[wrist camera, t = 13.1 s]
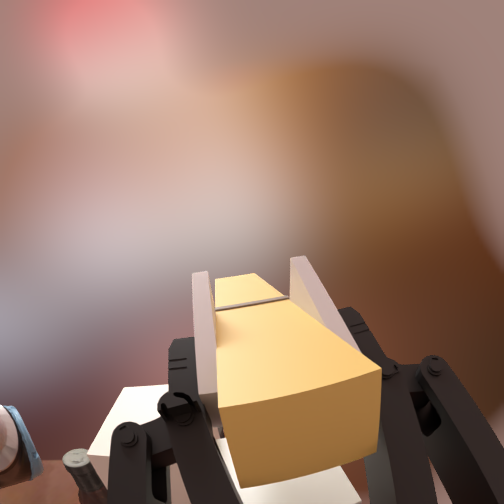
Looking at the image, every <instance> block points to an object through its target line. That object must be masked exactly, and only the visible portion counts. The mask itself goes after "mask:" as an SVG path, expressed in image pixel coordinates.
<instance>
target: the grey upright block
mask: <svg viewBox="0 0 504 504" xmlns="http://www.w3.org/2000/svg"><path fill="white" fill-rule="evenodd" d="M216 442H217V445H218V447H219V449H220V452H221V454H222V457H223V459H224V462H225V464H226V466H227V469H228V471H229V473H230V475H231V478H232V480H233V482H234V484H235V487H236V489H237V491H238V493H239V495H240V497H241V500H242V502H243V504H361V499H360V497H359V496H358V494H357V492H356V491H355V489H354V488H353V486H352V484H351V483H350V481H349V480H348V478H347V476H346V475H345V473H344V471H343V470H342V468H341V467H340V466H337V467H334V468H331V469H328V470H324V471H321V472H318V473H314V474H310V475H307V476H303V477H299V478H295V479H291V480H286V481H282V482H277V483H272V484H267V485H262V486H256V487H250V488H243V489H240V486H239V482H238V479H237V476H236V472H235V469H234V465H233V462H232V458H231V455H230V451H229V447H228V444H227V440H226V438H222V439H216Z"/></svg>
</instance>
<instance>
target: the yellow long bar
mask: <svg viewBox="0 0 504 504" xmlns="http://www.w3.org/2000/svg"><path fill="white" fill-rule="evenodd" d="M215 305H216V307H215V312H216V344H217V349H216V360H217V390H218V409H219V413H220V417H221V421H222V425H223V429H224V433H225V436H226V440H227V444H228V447H229V451H230V455H231V458H232V462H233V465H234V469H235V472H236V476H237V479H238V482H239V486H240V489H243V488H250V487H256V486H262V485H267V484H272V483H277V482H282V481H286V480H291V479H295V478H299V477H303V476H307V475H310V474H314V473H318V472H321V471H324V470H328V469H331V468H334V467H337V466H340V465H343V464H346V463H349V462H352V461H354V460H357V459H360V458H362V457H365V456H368V455H371V454H373V453H375V452H377V442H378V432H379V420H380V404H381V378H382V368H381V367H379V366H378V365H377V364H375V363H374V362H372V361H371V360H370V359H368V358H367V357H366V356H364V355H363V354H362V353H360V352H359V351H357V350H356V349H355V348H353V347H352V346H351V345H349V344H348V343H347V342H345V341H344V340H343V339H341V338H340V337H338V336H337V335H336V334H334V333H333V332H332V331H330V330H329V329H328V328H326V327H325V326H323V325H322V324H321V323H319V322H318V321H317V320H315V319H314V318H313V317H311V316H310V315H309V314H307V313H306V312H305V311H303V310H302V309H301V308H299V307H298V306H297V305H295V304H294V303H293V302H291V301H290V300H289V297H288V296H287V295H286V296H284V295H282V294H281V293H279V292H278V291H277V290H276V289H274V288H273V287H272V286H270V285H269V284H267V282H265V281H264V280H263V279H261V278H260V277H259V276H257V275H256V274H255V273H252V274H246V275H240V276H233V277H228V278H220V279H215Z"/></svg>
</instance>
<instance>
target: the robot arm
mask: <svg viewBox="0 0 504 504" xmlns="http://www.w3.org/2000/svg"><path fill="white" fill-rule="evenodd" d="M192 292H193V293H192V294H193V318H194V337H188V338H181V339H174V340H173V342H172V344H171V346H170V348H169V359H168V360H169V362H168V364H169V365H168V369H169V371H168V378H169V379H168V392H166V393H165V394H163V395H162V396H161V397H160V399H159V401H158V403H157V411H158V413H159V414H160V417H159V418H157V419H155V420H152V421H150V422H147V423H144V424H141V425H139V424H138V423H135V422H130V421H129V422H123V423H121V424H119V425H118V426H117V427H116V428H115V429H114V430H113V433H112V436H111V445H110V456H109V470H108V491H107V504H172V501H171V482H170V465H173V464H175V463H177V465H178V468H179V471H180V474H181V477H182V480H183V483H184V486H185V489H186V491H187V494H188V497H189V500H190V502H191V504H243V502H242V500H241V497H240V495H239V493H238V491H237V489H236V487H235V484H234V482H233V480H232V478H231V475H230V473H229V471H228V469H227V466H226V464H225V462H224V459H223V457H222V454H221V452H220V449H219V447H218V445H217V442H216V439H215V437H214V435H213V429H212V426H213V428H215V427H223V425H222V421H221V417H220V413H219V409H218V390H217V360H216V349H217V344H216V312H215V307H214V302H213V297H212V292H211V286H210V281H209V276H208V271H203V272H197V273H192ZM290 301H291V302H293V303H294V304H295V305H297V306H298V307H299V308H301V309H302V310H303V311H305V312H306V313H307V314H309V315H310V316H311V317H313V318H314V319H315V320H317V321H318V322H319V323H321V324H322V325H323V326H325V327H326V328H328V329H329V330H330V331H332V332H333V333H334V334H336V335H337V336H338V337H340V338H341V339H343V340H344V341H345V342H347V343H348V344H349V345H351V346H352V347H353V348H355V349H356V350H357V351H359V352H360V353H362V354H363V355H364V356H366V357H367V358H368V359H370V360H371V361H372V362H374V363H375V364H377V365H378V366H379V367H381V368H382V378H381V404H380V420H379V432H378V442H377V452H375V453H373V454H371V455H368V456H365V457H364V463H365V469H366V476H367V483H368V490H369V497H370V504H438V503H437V497H436V492H435V487H434V482H433V477H432V473H431V469H430V464H429V460H428V457H429V459H430V461H431V462H432V464H433V466H434V468H435V470H436V472H437V474H438V476H439V478H440V480H441V482H442V483H443V485H444V487H445V489H446V491H447V493H448V495H449V497H450V499H451V501H452V504H504V448H503V446H502V445H501V443H500V441H499V440H498V438H497V436H496V435H495V433H494V431H493V430H492V428H491V427H490V425H489V424H488V422H487V420H486V419H485V417H484V416H483V414H482V413H481V411H480V409H479V408H478V406H477V405H476V403H475V402H474V400H473V399H472V398H471V396H470V395H469V393H468V392H467V390H466V389H465V387H464V386H463V385H462V383H461V382H460V380H459V379H458V377H457V376H456V375H455V373H454V372H453V371H452V369H451V368H450V366H449V365H448V364H447V362H446V361H445V360H444V359H442V358H441V357H439V356H435V355H434V356H433V355H430V356H427V357H425V358H424V359H423V360H422V362H421V363H420V364H410V365H401V364H398V363H397V362H395V361H394V360H392V359H389V358H387V357H386V355H385V354H384V352H383V351H382V349H381V347H380V346H379V344H378V342H377V341H376V339H375V338H374V336H373V334H372V333H371V331H369V328H368V326H367V325H366V324H365V322H364V320H363V318H362V317H361V315H360V313H358V312H357V311H356V310H354V309H353V308H351V307H347V308H343V309H338V310H337V309H336V307H335V305H334V304H333V302H332V300H331V298H330V297H329V295H328V293H327V291H326V290H325V288H324V287H323V285H322V283H321V281H320V280H319V278H318V276H317V274H316V273H315V272H314V270H313V268H312V266H311V264H310V263H309V261H308V260H307V258H306V257H305V256H299V257H293V258H290ZM427 455H428V456H427ZM42 473H43V464H42V462H41V459H40V457H39V455H38V453H37V452H36V449H35V446H34V444H33V442H32V440H31V438H30V435H29V433H28V431H27V429H26V427H25V425H24V422H23V420H22V418H21V416H20V414H19V413H18V411H17V410H16V408H15V407H13V406H1V405H0V489H1V488H5V487H8V486H12V485H15V484H18V483H21V482H25V481H29V480H30V481H31V480H33V479H34V478H35V477H37V476H40V475H41V474H42Z"/></svg>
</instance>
